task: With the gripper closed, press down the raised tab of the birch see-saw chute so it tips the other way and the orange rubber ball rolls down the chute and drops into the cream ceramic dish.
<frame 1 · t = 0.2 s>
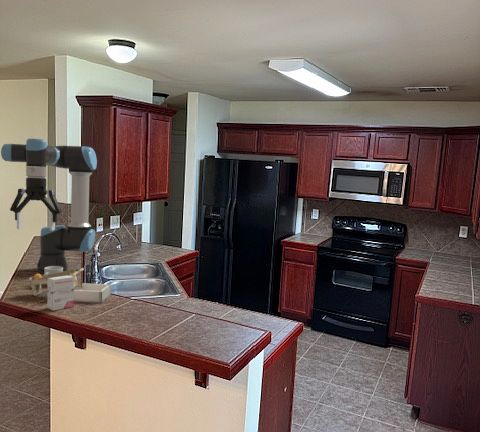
hand: (36, 229, 183), 28 cm above the counter, fingers open, 13 cm apart
lever: (58, 278, 190), point 6 cm above the counter, hinge at 15.0°, touching ball
dish: (91, 298, 186), on the counter
fulcrum: (54, 295, 187), on the counter
ink box: (60, 307, 172), on the counter
cup: (51, 286, 203), on the counter
ball: (37, 277, 186), point 7 cm above the counter, tilted 8°, touching lever
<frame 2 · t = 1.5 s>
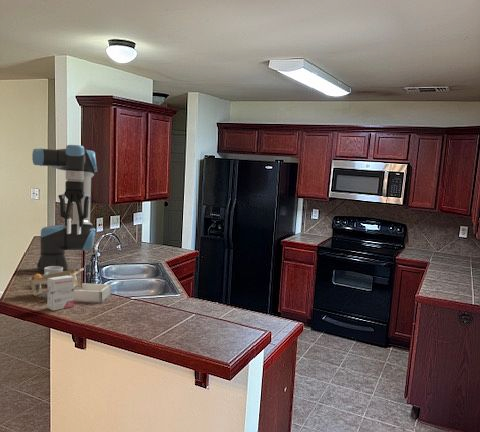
hand: (73, 233, 197), 25 cm above the counter, fingers open, 4 cm apart
nothing on the counter moved.
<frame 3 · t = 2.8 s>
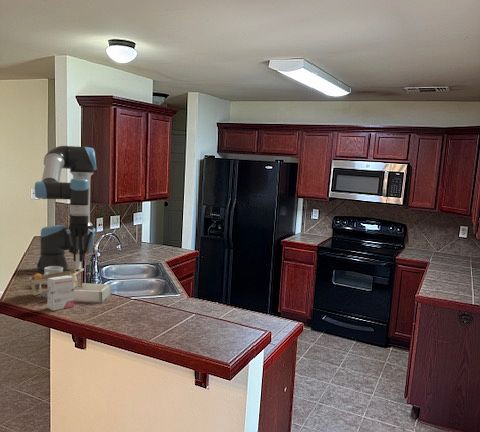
hand: (78, 268, 194), 10 cm above the counter, fingers closed
lever: (58, 278, 190), point 6 cm above the counter, hinge at 14.0°, touching ball, gripper
everything else where it was.
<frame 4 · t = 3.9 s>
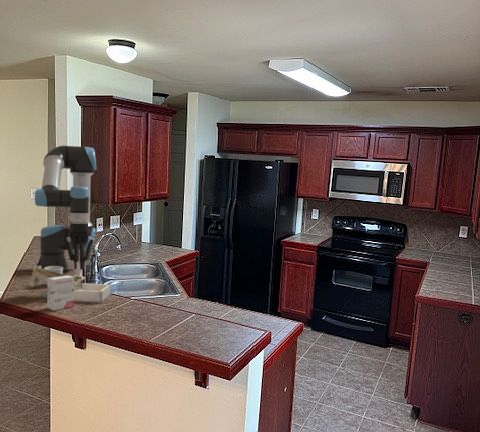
hand: (79, 276, 194), 7 cm above the counter, fingers closed
lever: (58, 278, 190), point 6 cm above the counter, hinge at -12.8°, touching gripper
ball: (99, 292, 186), point 2 cm above the counter, tilted 122°, touching dish
everything else where it was.
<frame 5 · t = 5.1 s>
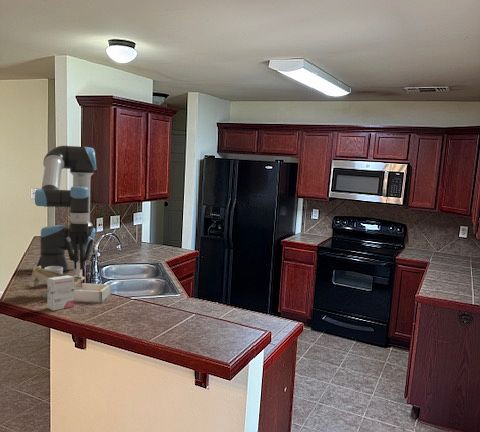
hand: (79, 276, 194), 7 cm above the counter, fingers closed
nothing on the counter moved.
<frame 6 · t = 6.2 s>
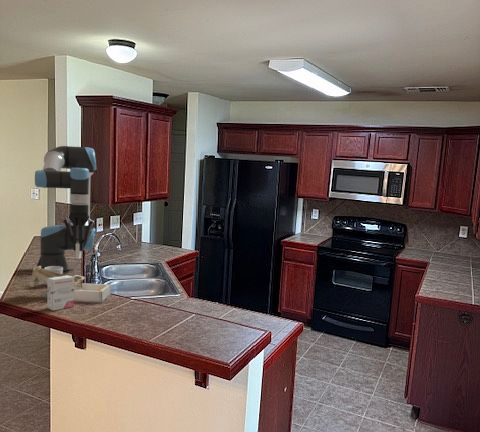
hand: (78, 258, 194), 15 cm above the counter, fingers closed
lever: (58, 278, 190), point 6 cm above the counter, hinge at -13.0°
everything else where it was.
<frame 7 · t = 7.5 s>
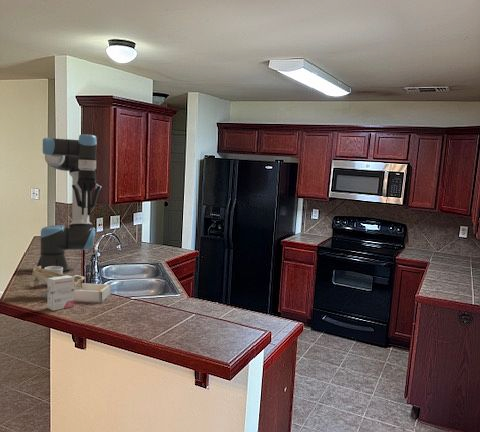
hand: (86, 222, 201), 29 cm above the counter, fingers closed
nothing on the counter moved.
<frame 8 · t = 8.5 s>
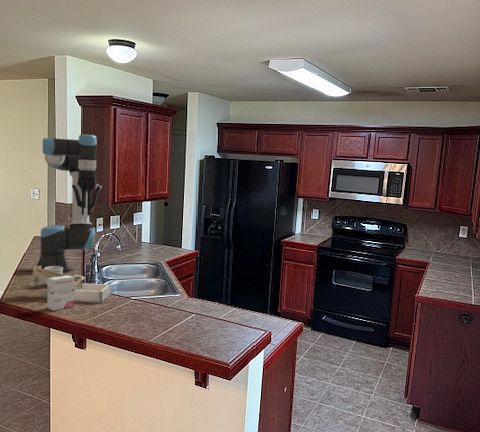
hand: (86, 222, 201), 29 cm above the counter, fingers closed
nothing on the counter moved.
at the end: ball inside the target area on the dish (3.2 cm from its centre), point 2.2 cm above the dish's base; lever at -13° (first picture: +15°) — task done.
